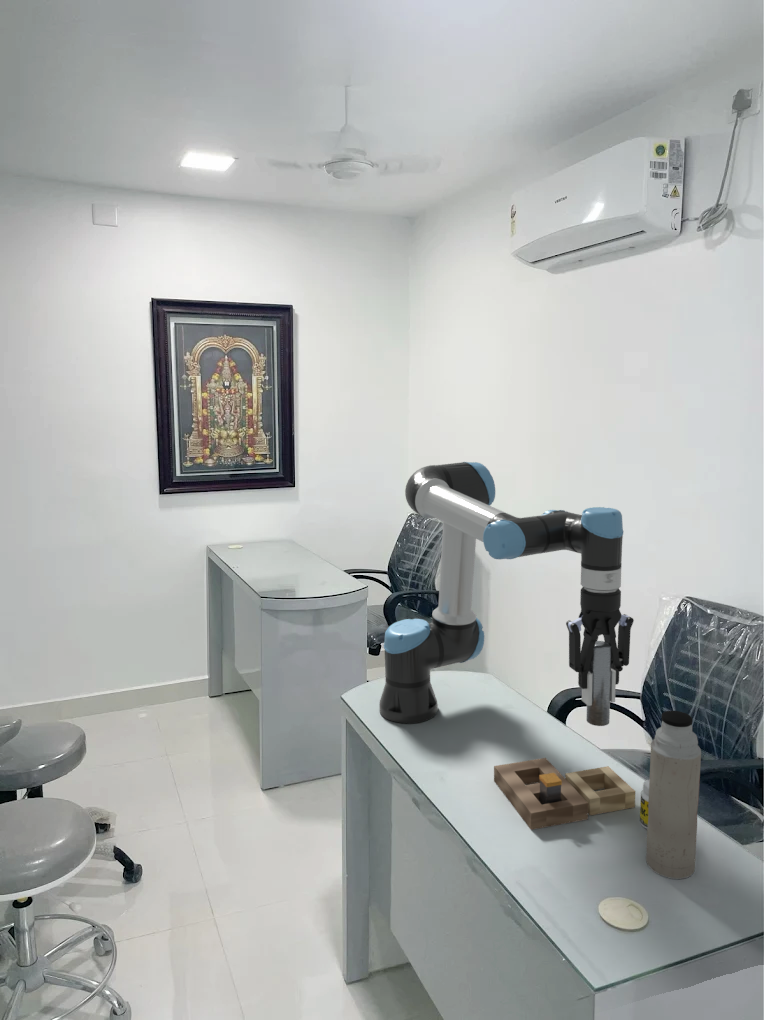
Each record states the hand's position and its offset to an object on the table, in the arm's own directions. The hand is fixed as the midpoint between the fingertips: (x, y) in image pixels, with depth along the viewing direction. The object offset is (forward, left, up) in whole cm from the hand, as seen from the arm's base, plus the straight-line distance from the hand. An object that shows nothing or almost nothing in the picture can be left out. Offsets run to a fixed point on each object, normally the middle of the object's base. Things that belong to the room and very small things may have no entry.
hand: (598, 701), depth 146 cm
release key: (+2, -11, -20) cm, 23 cm away
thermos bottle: (+22, +2, -21) cm, 31 cm away
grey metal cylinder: (0, 0, -4) cm, 4 cm away
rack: (0, +1, -21) cm, 21 cm away
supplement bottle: (+11, +6, -21) cm, 25 cm away
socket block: (-3, -11, -21) cm, 24 cm away
